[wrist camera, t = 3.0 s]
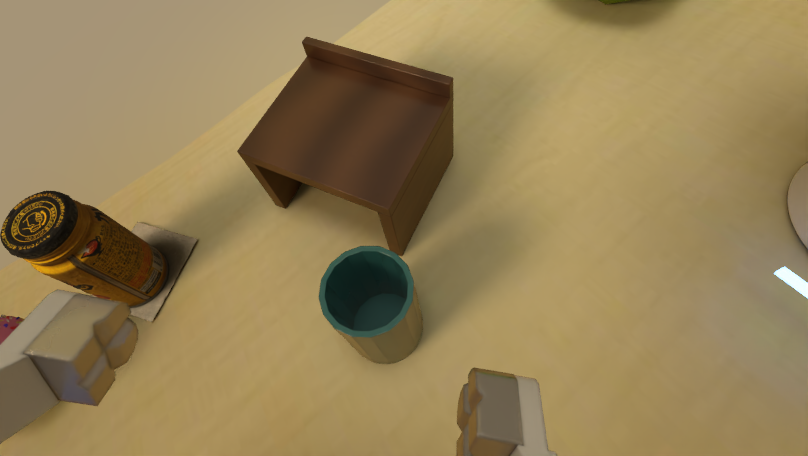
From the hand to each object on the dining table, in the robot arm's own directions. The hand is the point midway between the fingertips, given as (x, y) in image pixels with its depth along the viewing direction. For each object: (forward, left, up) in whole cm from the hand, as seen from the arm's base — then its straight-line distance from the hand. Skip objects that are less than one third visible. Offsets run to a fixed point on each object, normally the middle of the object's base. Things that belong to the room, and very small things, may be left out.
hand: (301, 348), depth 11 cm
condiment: (+28, -1, -27) cm, 39 cm away
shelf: (+13, -18, -27) cm, 35 cm away
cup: (+5, -6, -27) cm, 28 cm away
